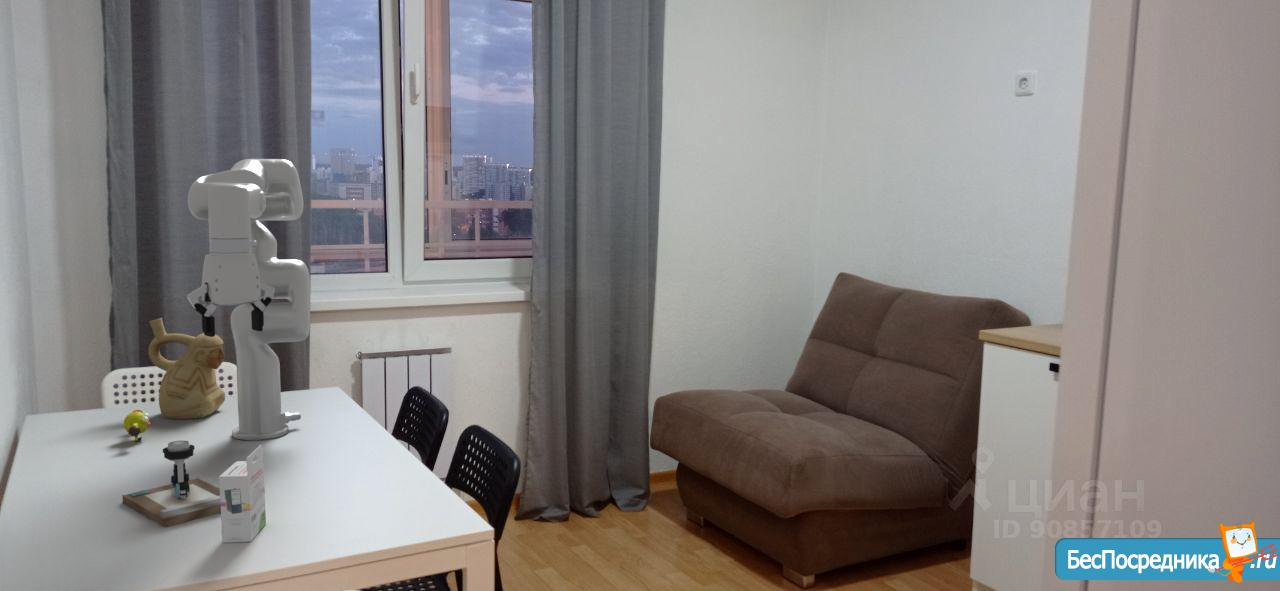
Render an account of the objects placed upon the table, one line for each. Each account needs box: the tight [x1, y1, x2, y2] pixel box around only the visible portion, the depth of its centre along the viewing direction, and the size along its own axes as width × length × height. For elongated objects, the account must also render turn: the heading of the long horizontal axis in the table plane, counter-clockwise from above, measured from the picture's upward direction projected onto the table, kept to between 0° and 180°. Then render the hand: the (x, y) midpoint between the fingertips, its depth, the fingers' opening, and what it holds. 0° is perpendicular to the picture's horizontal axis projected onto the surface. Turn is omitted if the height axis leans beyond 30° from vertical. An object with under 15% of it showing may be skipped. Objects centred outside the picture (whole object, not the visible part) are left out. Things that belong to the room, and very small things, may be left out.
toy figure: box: [123, 409, 152, 442], centre depth 215 cm, size 18×6×7 cm, turn 26°
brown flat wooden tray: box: [122, 477, 221, 528], centre depth 173 cm, size 14×18×3 cm
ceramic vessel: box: [148, 317, 226, 420], centre depth 238 cm, size 17×20×25 cm
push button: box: [162, 439, 196, 499], centre depth 173 cm, size 7×5×10 cm
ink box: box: [218, 444, 267, 544], centre depth 159 cm, size 9×5×15 cm, turn 5°
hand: (233, 333), depth 184 cm, fingers open, 9 cm apart
